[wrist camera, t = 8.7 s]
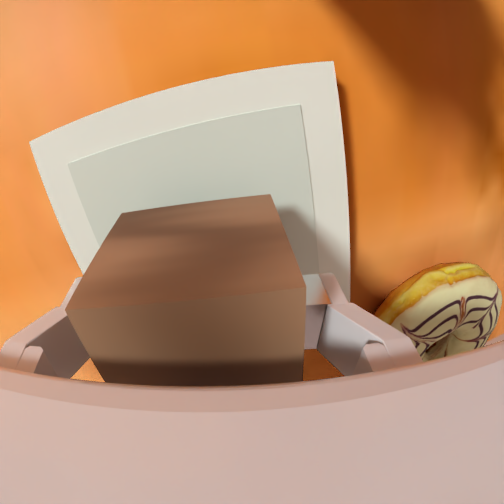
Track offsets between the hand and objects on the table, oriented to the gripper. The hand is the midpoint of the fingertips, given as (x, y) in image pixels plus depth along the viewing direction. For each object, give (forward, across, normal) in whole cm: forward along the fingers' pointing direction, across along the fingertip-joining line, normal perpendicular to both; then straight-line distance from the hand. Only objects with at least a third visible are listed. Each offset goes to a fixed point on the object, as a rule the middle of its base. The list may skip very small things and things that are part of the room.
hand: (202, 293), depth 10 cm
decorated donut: (+5, -14, +7) cm, 16 cm away
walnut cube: (+2, 0, 0) cm, 2 cm away
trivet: (+5, 0, 0) cm, 5 cm away
